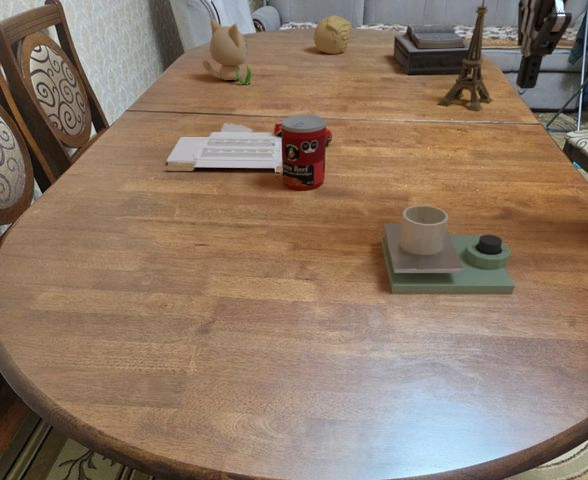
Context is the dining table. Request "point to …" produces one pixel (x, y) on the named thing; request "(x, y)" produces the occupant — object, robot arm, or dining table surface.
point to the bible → (431, 50)
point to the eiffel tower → (475, 63)
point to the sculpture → (332, 34)
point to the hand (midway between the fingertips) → (524, 86)
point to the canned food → (303, 151)
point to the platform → (420, 263)
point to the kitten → (227, 52)
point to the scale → (474, 280)
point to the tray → (230, 149)
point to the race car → (278, 132)
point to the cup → (423, 229)
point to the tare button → (489, 244)
